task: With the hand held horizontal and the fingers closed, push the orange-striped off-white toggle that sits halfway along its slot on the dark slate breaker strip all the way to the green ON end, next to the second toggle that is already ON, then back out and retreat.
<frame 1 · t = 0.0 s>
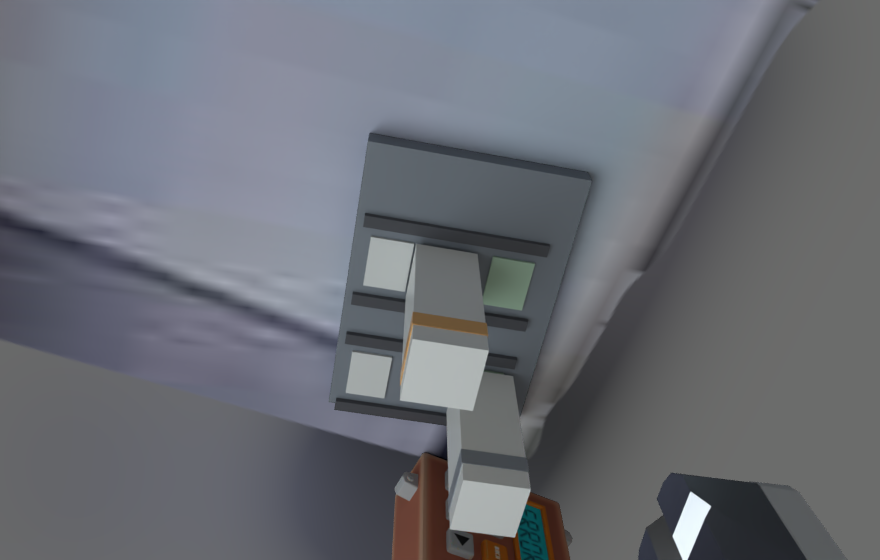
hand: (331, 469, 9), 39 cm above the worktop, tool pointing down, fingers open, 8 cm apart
breaker toggle: (442, 320, 45), point 7 cm above the worktop, slide at 3.5 cm
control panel: (476, 497, 62), on the worktop
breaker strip: (449, 289, 53), on the worktop
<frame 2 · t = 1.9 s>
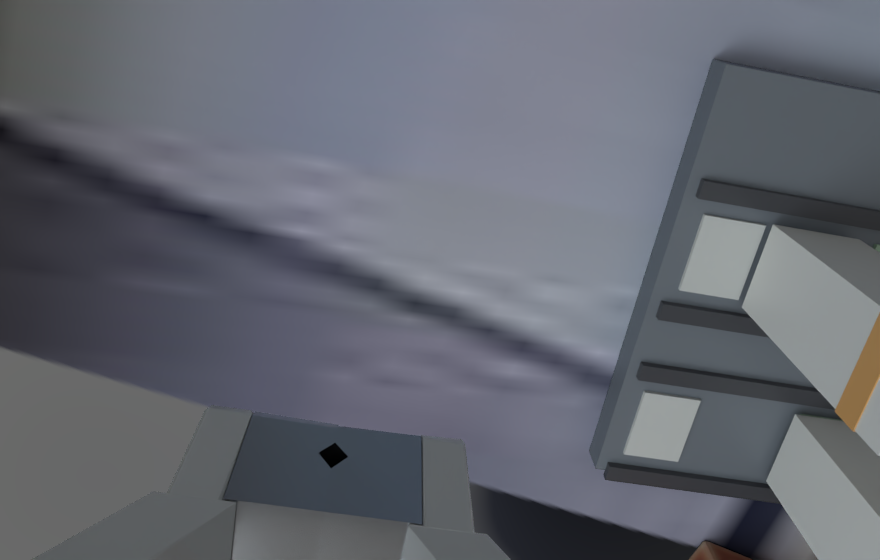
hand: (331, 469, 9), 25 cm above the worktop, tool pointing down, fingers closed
breaker toggle: (867, 330, 29), point 7 cm above the worktop, slide at 3.5 cm
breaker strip: (784, 298, 36), on the worktop
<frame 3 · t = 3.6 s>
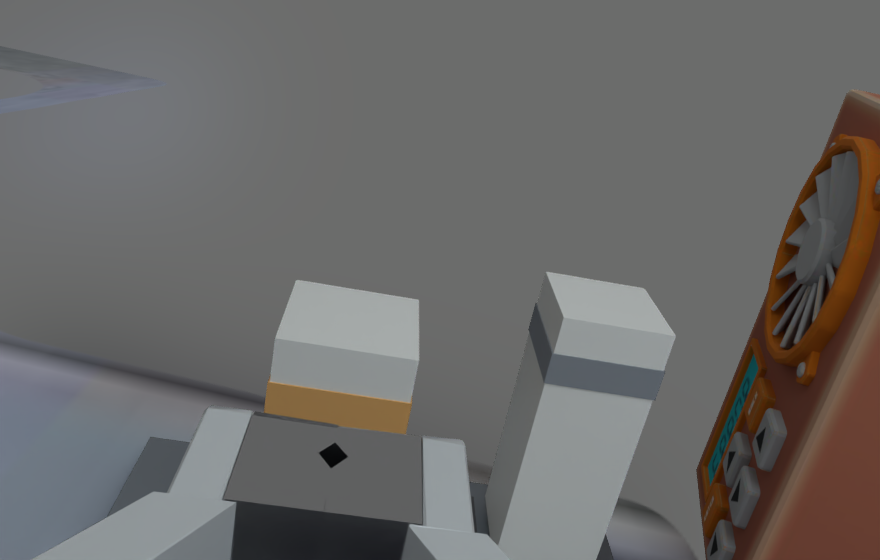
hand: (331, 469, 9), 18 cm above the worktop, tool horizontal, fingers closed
breaker toggle: (328, 465, 25), point 8 cm above the worktop, slide at 3.5 cm
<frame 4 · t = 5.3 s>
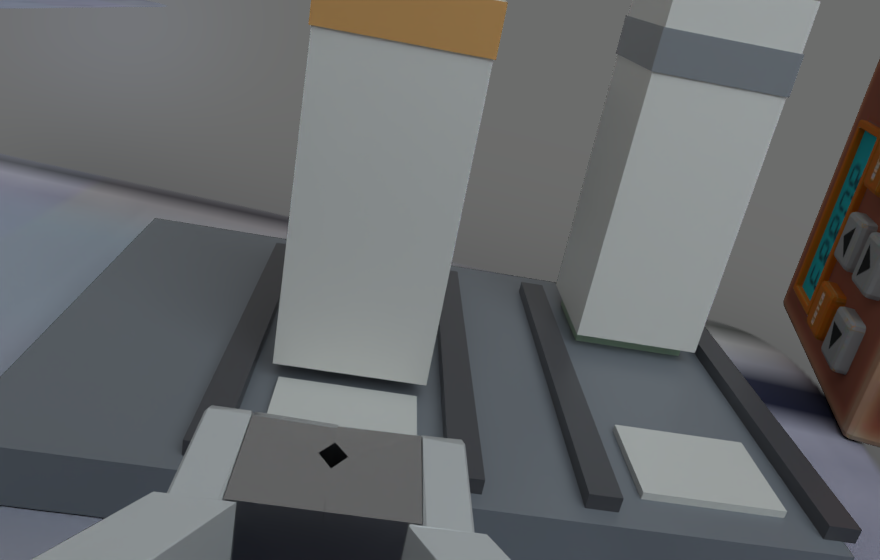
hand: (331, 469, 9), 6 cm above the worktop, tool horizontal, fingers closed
breaker toggle: (385, 149, 19), point 8 cm above the worktop, slide at 3.5 cm
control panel: (874, 382, 31), on the worktop
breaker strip: (413, 389, 23), on the worktop
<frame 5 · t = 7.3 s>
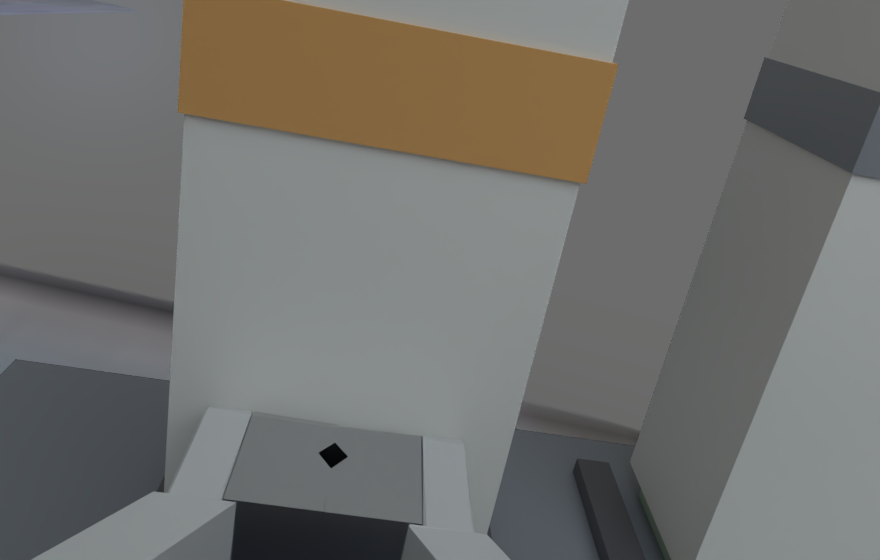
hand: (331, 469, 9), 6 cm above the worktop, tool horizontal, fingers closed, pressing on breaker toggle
breaker toggle: (359, 316, 11), point 8 cm above the worktop, slide at 4.5 cm, touching gripper
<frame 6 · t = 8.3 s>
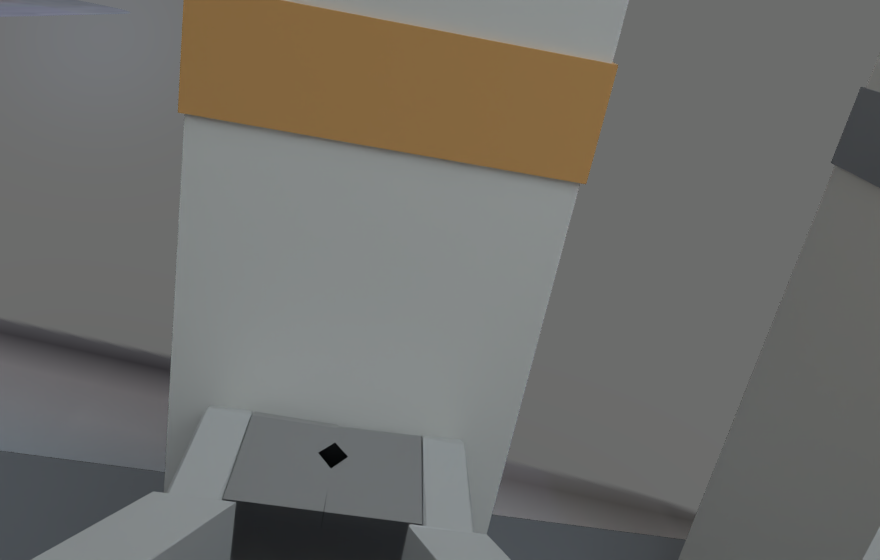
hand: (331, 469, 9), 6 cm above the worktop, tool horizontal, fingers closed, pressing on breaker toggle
breaker toggle: (359, 316, 11), point 7 cm above the worktop, slide at 8.0 cm, touching gripper
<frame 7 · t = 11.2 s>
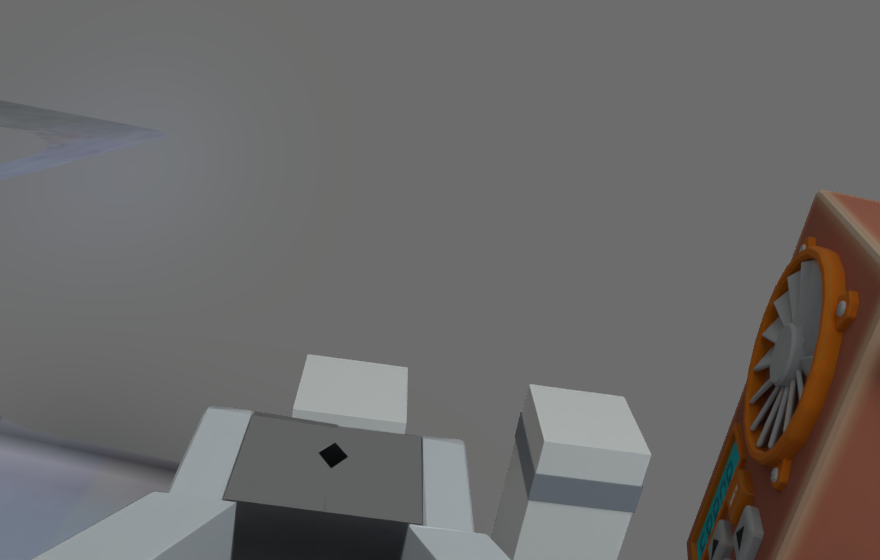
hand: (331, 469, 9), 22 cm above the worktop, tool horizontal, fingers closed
breaker toggle: (337, 504, 31), point 8 cm above the worktop, slide at 8.0 cm
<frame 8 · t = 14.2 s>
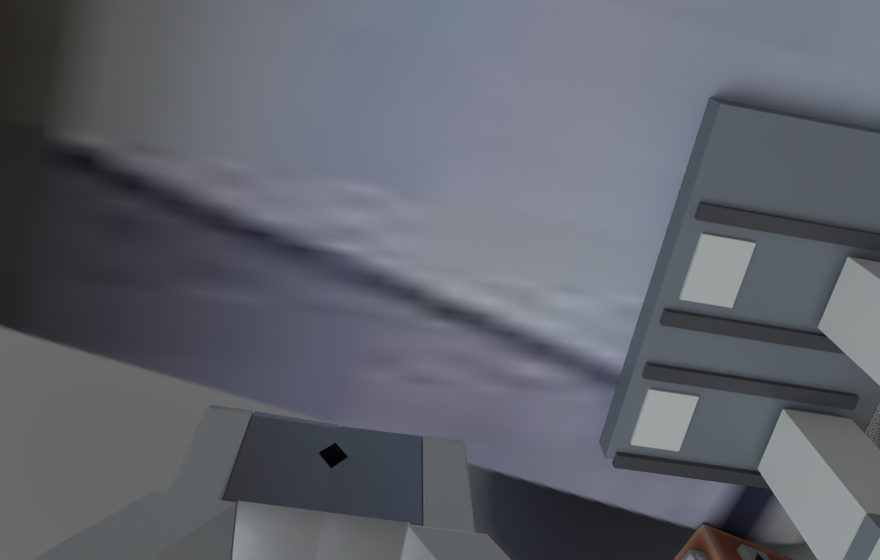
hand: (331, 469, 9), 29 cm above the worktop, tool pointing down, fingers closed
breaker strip: (773, 306, 41), on the worktop
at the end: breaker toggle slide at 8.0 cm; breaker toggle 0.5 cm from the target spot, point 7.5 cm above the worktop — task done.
